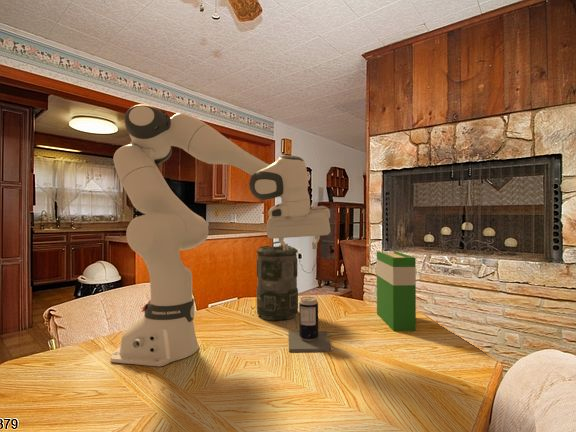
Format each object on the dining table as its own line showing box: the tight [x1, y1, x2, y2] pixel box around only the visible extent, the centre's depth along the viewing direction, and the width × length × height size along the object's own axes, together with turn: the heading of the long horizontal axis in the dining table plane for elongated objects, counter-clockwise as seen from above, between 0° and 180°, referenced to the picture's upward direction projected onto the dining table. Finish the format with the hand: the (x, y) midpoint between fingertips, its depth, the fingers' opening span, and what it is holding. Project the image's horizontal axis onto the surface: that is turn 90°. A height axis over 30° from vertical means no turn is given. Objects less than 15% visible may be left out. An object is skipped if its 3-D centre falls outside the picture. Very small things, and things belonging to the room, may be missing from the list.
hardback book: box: [376, 250, 417, 332], centre depth 111 cm, size 18×7×24 cm, turn 1°
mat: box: [287, 330, 333, 353], centre depth 94 cm, size 12×13×1 cm
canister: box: [256, 240, 299, 321], centre depth 119 cm, size 16×16×28 cm
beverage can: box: [298, 296, 319, 341], centre depth 94 cm, size 6×6×12 cm
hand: (300, 249), depth 101 cm, fingers open, 8 cm apart
